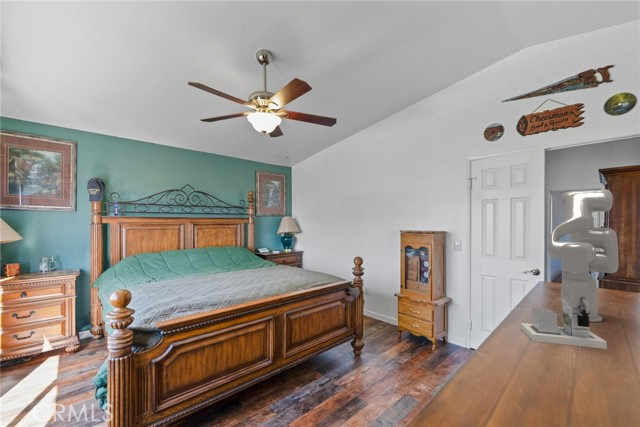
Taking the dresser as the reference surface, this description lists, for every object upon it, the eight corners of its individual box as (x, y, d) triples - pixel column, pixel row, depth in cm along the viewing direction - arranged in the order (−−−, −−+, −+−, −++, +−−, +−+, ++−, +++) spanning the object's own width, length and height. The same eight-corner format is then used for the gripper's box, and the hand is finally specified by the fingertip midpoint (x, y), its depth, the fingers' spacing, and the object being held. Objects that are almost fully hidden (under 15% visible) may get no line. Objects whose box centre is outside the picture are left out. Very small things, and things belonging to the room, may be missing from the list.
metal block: (532, 332, 114) (532, 307, 114) (550, 334, 112) (549, 309, 112) (538, 338, 108) (538, 312, 108) (557, 340, 106) (557, 313, 107)
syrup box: (590, 343, 104) (589, 303, 104) (571, 342, 105) (571, 302, 105) (580, 337, 109) (579, 299, 110) (562, 335, 111) (561, 298, 111)
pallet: (521, 331, 118) (520, 323, 118) (586, 338, 111) (586, 329, 111) (532, 343, 106) (532, 334, 106) (606, 351, 100) (606, 341, 100)
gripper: (552, 271, 117) (553, 313, 117) (575, 280, 101) (576, 329, 100) (574, 272, 115) (575, 315, 114) (601, 281, 98) (603, 331, 98)
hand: (575, 321), depth 107 cm, fingers open, 9 cm apart
